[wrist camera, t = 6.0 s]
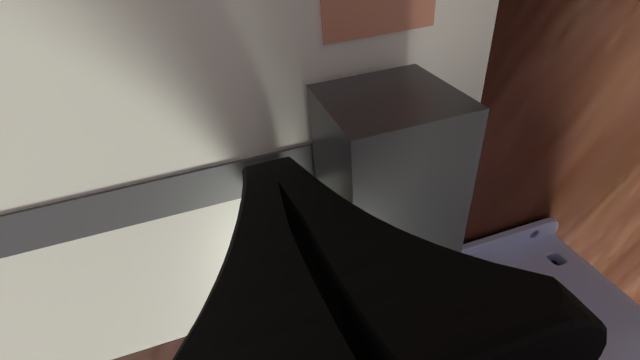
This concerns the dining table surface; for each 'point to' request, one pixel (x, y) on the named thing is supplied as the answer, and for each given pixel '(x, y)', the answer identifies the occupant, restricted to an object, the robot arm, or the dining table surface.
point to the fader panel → (169, 144)
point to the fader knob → (400, 148)
